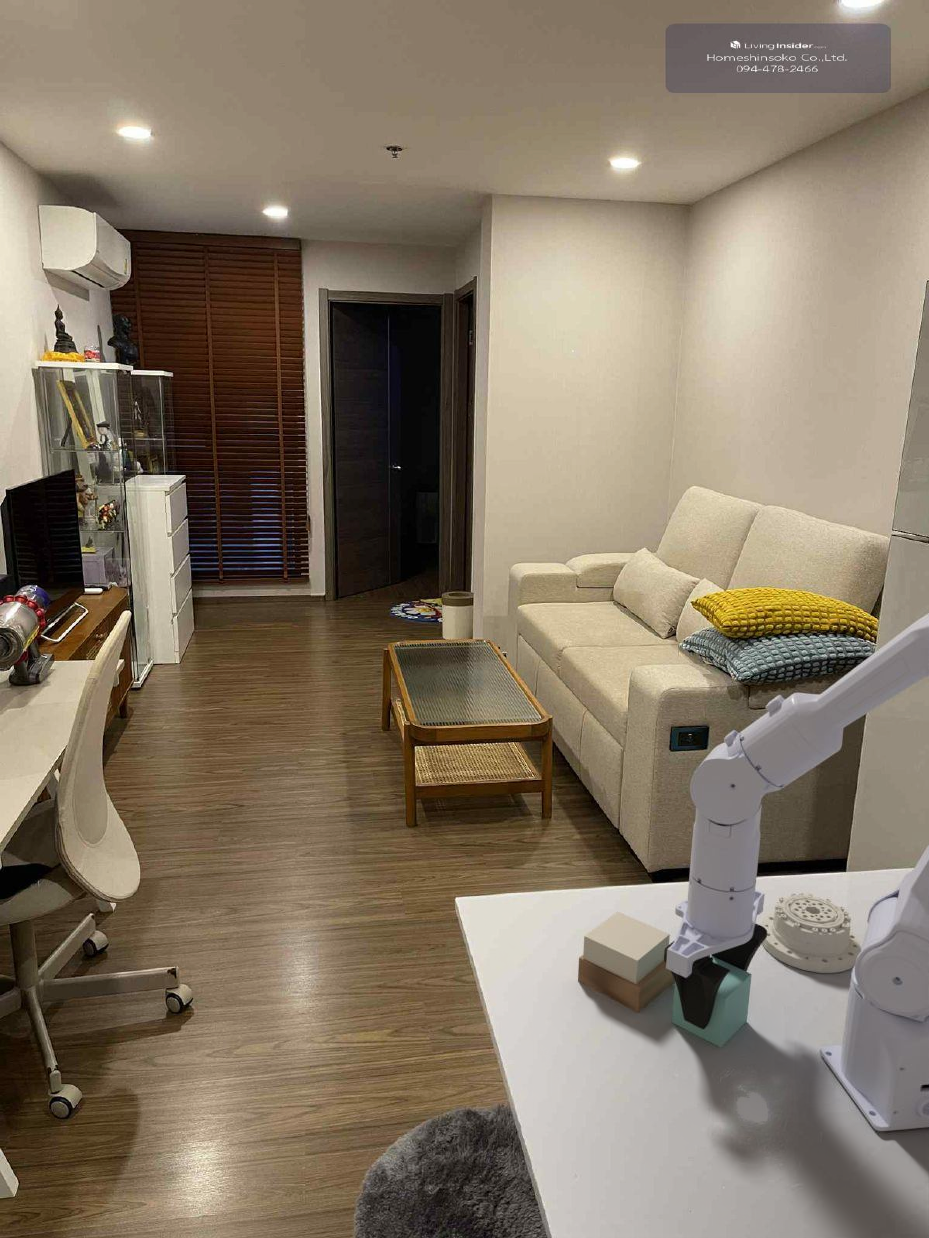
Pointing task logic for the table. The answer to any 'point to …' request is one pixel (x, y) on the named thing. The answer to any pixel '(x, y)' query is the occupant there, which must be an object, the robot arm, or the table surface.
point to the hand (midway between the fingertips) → (710, 1008)
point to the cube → (721, 1007)
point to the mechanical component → (811, 934)
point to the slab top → (625, 947)
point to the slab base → (626, 984)
